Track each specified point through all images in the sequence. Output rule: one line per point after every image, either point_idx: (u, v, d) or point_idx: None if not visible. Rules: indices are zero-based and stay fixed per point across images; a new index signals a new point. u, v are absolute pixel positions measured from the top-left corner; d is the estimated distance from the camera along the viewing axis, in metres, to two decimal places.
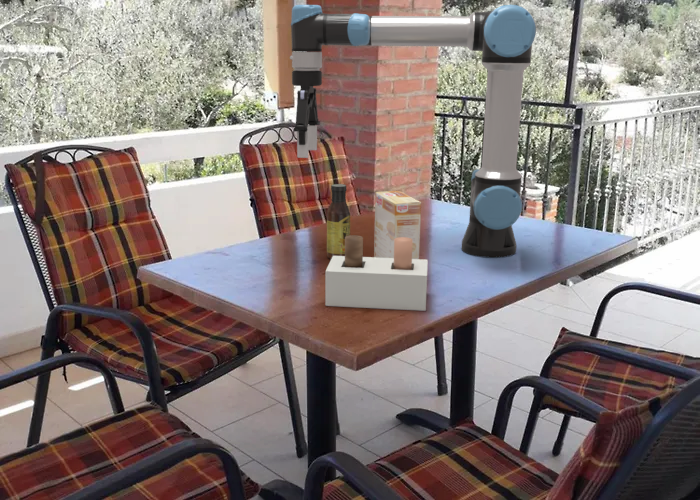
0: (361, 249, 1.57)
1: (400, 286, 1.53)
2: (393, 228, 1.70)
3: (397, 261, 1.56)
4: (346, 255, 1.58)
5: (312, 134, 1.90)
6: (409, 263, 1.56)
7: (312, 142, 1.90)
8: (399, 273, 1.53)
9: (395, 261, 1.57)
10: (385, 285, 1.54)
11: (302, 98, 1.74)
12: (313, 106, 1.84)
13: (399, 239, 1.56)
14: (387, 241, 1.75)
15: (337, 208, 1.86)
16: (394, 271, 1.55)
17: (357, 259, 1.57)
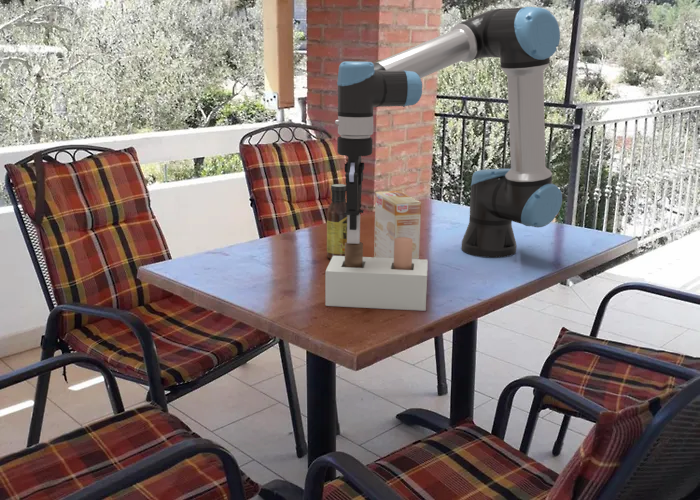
0: (361, 255, 1.58)
1: (400, 286, 1.53)
2: (393, 228, 1.70)
3: (397, 261, 1.56)
4: (346, 261, 1.58)
5: None
6: (409, 263, 1.56)
7: None
8: (399, 273, 1.53)
9: (395, 261, 1.57)
10: (385, 285, 1.54)
11: (351, 181, 1.49)
12: None
13: (399, 239, 1.56)
14: (387, 241, 1.75)
15: (336, 208, 1.86)
16: (394, 271, 1.55)
17: (357, 265, 1.57)
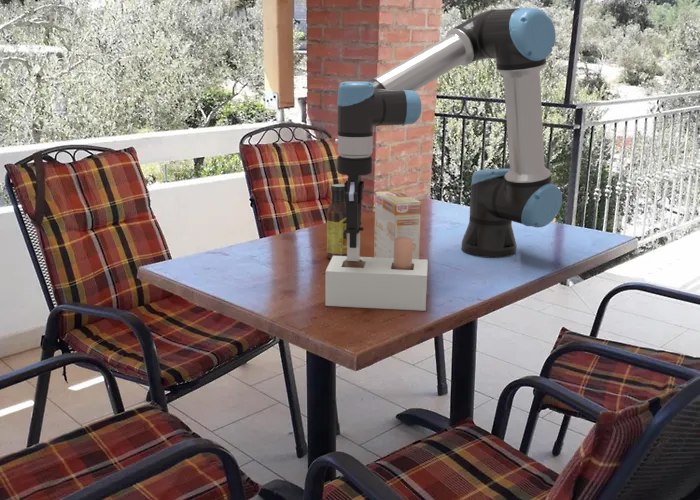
0: None
1: (400, 286, 1.53)
2: (393, 228, 1.70)
3: (397, 261, 1.56)
4: None
5: None
6: (409, 263, 1.56)
7: None
8: (399, 273, 1.53)
9: (395, 261, 1.57)
10: (385, 285, 1.54)
11: (351, 200, 1.50)
12: None
13: (399, 239, 1.56)
14: (387, 241, 1.75)
15: (336, 208, 1.86)
16: (394, 271, 1.55)
17: None
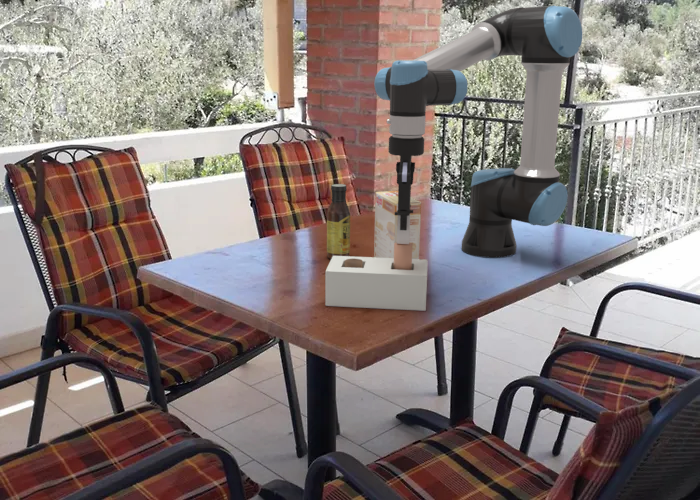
0: None
1: (400, 286, 1.53)
2: (393, 228, 1.70)
3: (397, 265, 1.57)
4: None
5: None
6: (409, 268, 1.57)
7: None
8: (399, 273, 1.53)
9: (395, 266, 1.57)
10: (385, 285, 1.54)
11: (404, 181, 1.47)
12: None
13: (399, 244, 1.57)
14: (387, 241, 1.75)
15: (337, 208, 1.86)
16: (394, 271, 1.55)
17: None
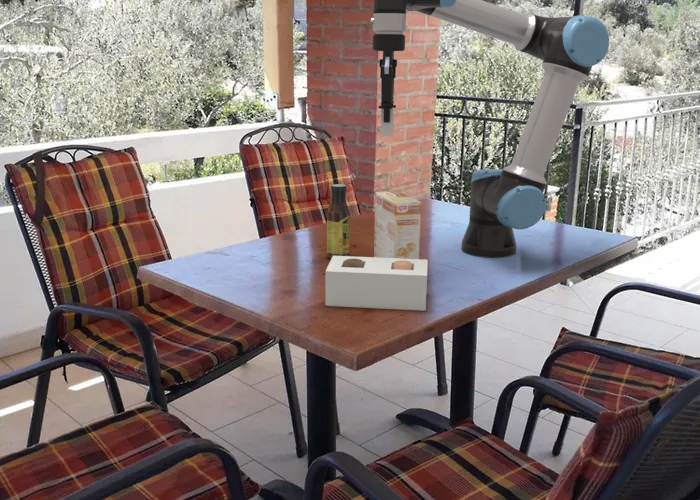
0: None
1: (400, 286, 1.53)
2: (393, 228, 1.70)
3: None
4: None
5: None
6: None
7: None
8: (399, 273, 1.53)
9: None
10: (385, 285, 1.54)
11: (386, 73, 1.61)
12: None
13: (398, 263, 1.58)
14: (387, 241, 1.75)
15: (337, 208, 1.86)
16: (394, 271, 1.55)
17: None
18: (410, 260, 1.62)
